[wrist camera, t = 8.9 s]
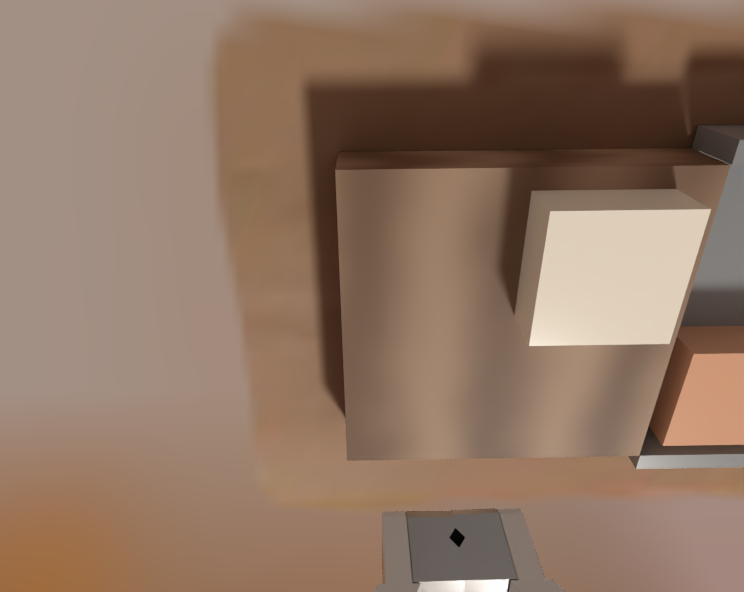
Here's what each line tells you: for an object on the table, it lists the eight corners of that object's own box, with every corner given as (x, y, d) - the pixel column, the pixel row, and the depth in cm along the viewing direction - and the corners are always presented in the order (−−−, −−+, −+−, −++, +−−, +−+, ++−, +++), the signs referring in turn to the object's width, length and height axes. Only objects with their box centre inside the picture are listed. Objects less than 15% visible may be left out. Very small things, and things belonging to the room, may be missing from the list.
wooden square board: (690, 148, 24) (730, 165, 22) (616, 418, 32) (639, 455, 29) (338, 152, 24) (335, 169, 21) (348, 422, 32) (347, 460, 29)
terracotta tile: (781, 325, 28) (816, 352, 26) (744, 413, 31) (773, 444, 29) (667, 326, 28) (693, 354, 26) (641, 414, 31) (662, 445, 29)
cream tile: (676, 188, 22) (711, 209, 20) (642, 314, 25) (669, 343, 23) (531, 190, 22) (550, 211, 20) (514, 315, 25) (528, 345, 23)
